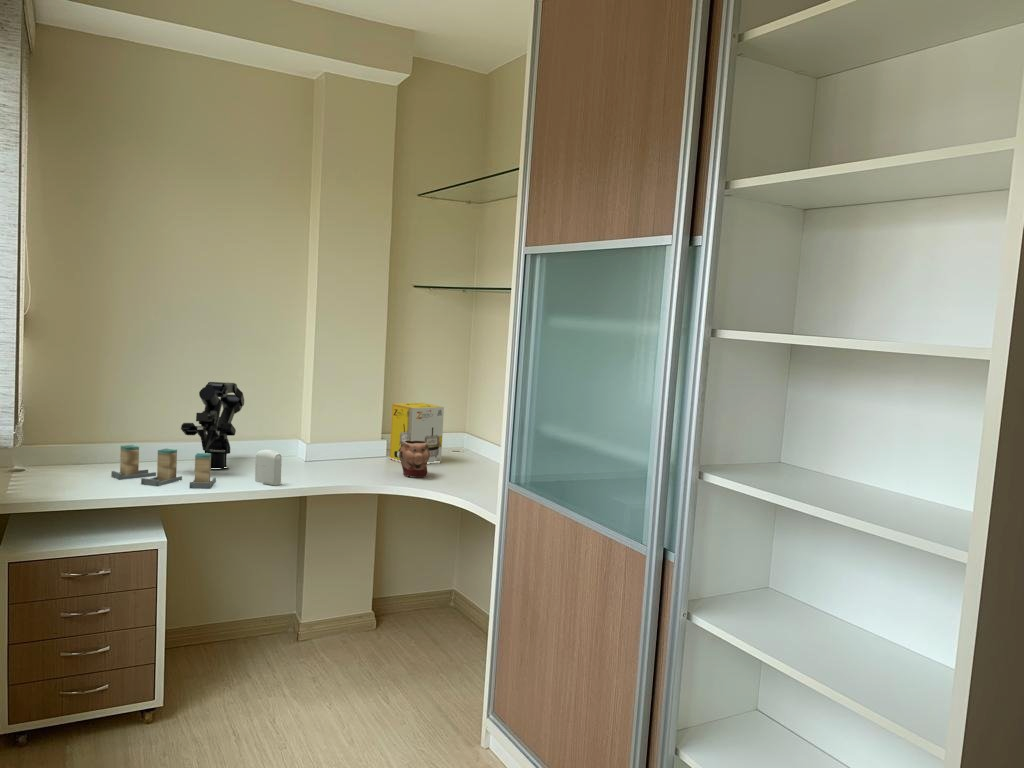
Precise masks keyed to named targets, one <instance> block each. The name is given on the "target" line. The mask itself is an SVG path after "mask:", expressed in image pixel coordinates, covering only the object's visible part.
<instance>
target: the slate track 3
mask: <svg viewBox="0 0 1024 768" xmlns="http://www.w3.org/2000/svg"><path fill="white" fill-rule="evenodd" d="M194 481H195V478H193V481H189V489H197V490H199V489H202V490H203V489H204V490H210V489H212V487H213V486H214V484H215V483H216V481H217V477H213V478H212V479H211V480H210V482H194Z"/></svg>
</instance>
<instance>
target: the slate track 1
mask: <svg viewBox="0 0 1024 768" xmlns="http://www.w3.org/2000/svg"><path fill="white" fill-rule="evenodd" d="M149 477H151V478H152V477H157V472H156V471H155V472H154V471H153V472H149V469H139V470H138V474H134V475H124V476H122V474H121V473H120V471H118V472H117V471H115V470H111V478H114V479H117V480H119V481H124V480H131V479H141V478H149Z"/></svg>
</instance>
